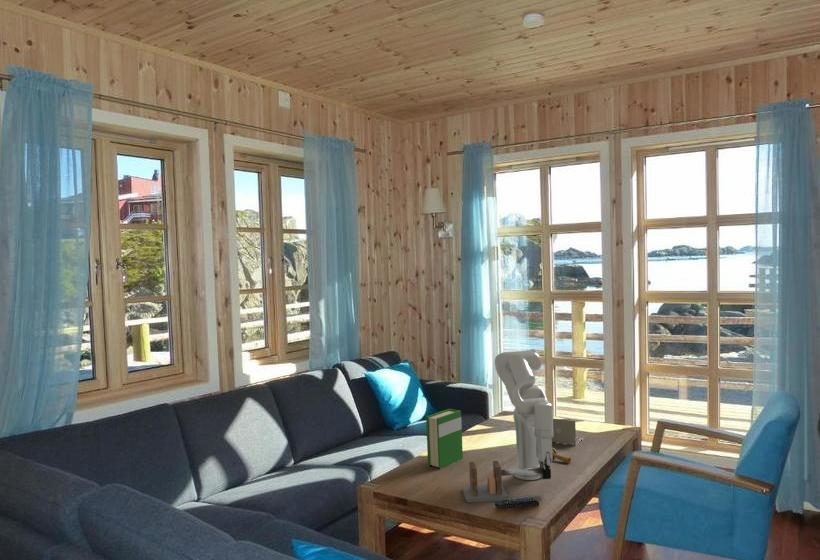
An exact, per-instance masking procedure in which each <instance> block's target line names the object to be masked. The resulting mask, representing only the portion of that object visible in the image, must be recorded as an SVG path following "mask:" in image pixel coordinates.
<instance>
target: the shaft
mask: <svg viewBox="0 0 820 560" xmlns="http://www.w3.org/2000/svg"><path fill="white" fill-rule="evenodd" d="M545 464H547V463H545ZM539 465H540V466H541V468H524V469H517V468H510V469H509V468H507V469H505V468H504V469H501V477H503V476H514V475H526V474H541V479H542V480H551V478H546V479H544V478H543V469H544V468H543V462H540V461H539Z"/></svg>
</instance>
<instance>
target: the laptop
mask: <svg viewBox="0 0 820 560" xmlns="http://www.w3.org/2000/svg"><path fill="white" fill-rule="evenodd" d="M576 438H577V432H576V421H575V420H569V419H561V418H559V419H558V418H553V437H552V438H551V440H552V442H558V443H557V444H559V443H565V444H564V445H567V444H572V445H571V446H574V445H576ZM579 438H580V439H582V441H583V440H584V438H581V437H579ZM580 439H579V440H580ZM580 441H581V440H580ZM582 441H581V442H582ZM578 443H579V442H578ZM579 444H580V443H579ZM576 446H577V445H576Z"/></svg>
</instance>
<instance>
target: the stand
mask: <svg viewBox="0 0 820 560" xmlns="http://www.w3.org/2000/svg"><path fill="white" fill-rule="evenodd" d="M468 466H469V467H468V468H469V486H470V489H471V492H472V495H473V496H478V491H477V486H478V471H477V470H478V469H477V466H476V464H475V462H474V461H470V462H468ZM492 469H493V473H492V474H493V475H494V478H495V486H496V493H497V495H498V494H502V485H503V484H502V483H503V482H502V476H501V470H502V466H501V464H500V462H499V461H498V460H493V461H492Z"/></svg>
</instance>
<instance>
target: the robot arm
mask: <svg viewBox="0 0 820 560" xmlns="http://www.w3.org/2000/svg"><path fill="white" fill-rule="evenodd" d="M494 367H495V371H496V373H497V376H498V377H499V379H500V380H501V382H502V383H503V385H504V386H505V387H504V388H505V389H506V393H507V395H508V397H509V400H510V402H511V404H512V405H513V407H514V410H513V411H512V415H513V416H512V417H513V421H514V427H515V438H516V439H515V443H516V467H517V468H516V469H524V468H541V466H540V462H543V468H544V469H543V478H544V479H543V480H547V479H546V478H550V479H551V478H552V470H551V467H552V465H551V464H552V463H551V462H553V459H554V458H553V455H552V448H553V443H552V440H551V438H552V437H553V419H554V411H553V409H554V407H553V405H552V403H551V402H549V399H548V397H547V395H546V392H545V391H544V389H543V387H542V386H541V385H535V383H536V377H535V374H534V372H533V371H538V370H540V369H541V367H542V359H541V356H540V355H539V354H538V353H537V352H535V351H531V350H521V351H518V350H517V351H505V352H502V353H499V354H496V356H495V357H494ZM533 427H534V429H533ZM545 463H547V464H545ZM513 476H514V477H515V478H516V479H518V480H519V479H520V480H524V481H535V480H540V479H542V477H541V474H526V475H513Z"/></svg>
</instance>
